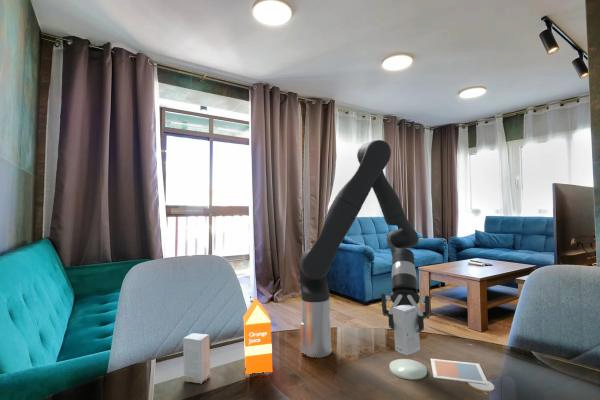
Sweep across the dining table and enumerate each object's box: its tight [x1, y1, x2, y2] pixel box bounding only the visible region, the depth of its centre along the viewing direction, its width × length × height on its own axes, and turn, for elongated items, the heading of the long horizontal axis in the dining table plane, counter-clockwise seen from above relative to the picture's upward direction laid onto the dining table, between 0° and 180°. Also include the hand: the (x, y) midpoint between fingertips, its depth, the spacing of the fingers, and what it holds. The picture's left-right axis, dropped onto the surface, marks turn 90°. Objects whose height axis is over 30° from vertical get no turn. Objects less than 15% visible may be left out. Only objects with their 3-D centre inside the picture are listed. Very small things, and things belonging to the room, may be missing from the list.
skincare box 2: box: [393, 305, 421, 356], centre depth 88 cm, size 6×4×12 cm
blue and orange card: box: [430, 358, 489, 386], centre depth 86 cm, size 13×11×1 cm
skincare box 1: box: [182, 332, 211, 381], centre depth 87 cm, size 6×4×12 cm
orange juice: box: [243, 296, 273, 375], centre depth 92 cm, size 8×9×20 cm
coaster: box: [389, 358, 428, 381], centre depth 88 cm, size 10×10×1 cm
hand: (406, 330), depth 87 cm, fingers closed on skincare box 2, 6 cm apart
